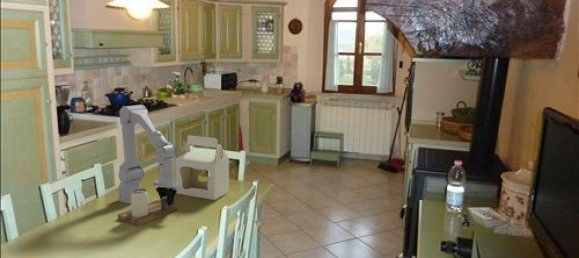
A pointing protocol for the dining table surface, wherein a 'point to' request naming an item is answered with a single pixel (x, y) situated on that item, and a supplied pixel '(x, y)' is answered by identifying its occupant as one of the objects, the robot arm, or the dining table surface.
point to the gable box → (212, 163)
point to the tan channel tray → (149, 212)
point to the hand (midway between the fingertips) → (167, 204)
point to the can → (139, 203)
